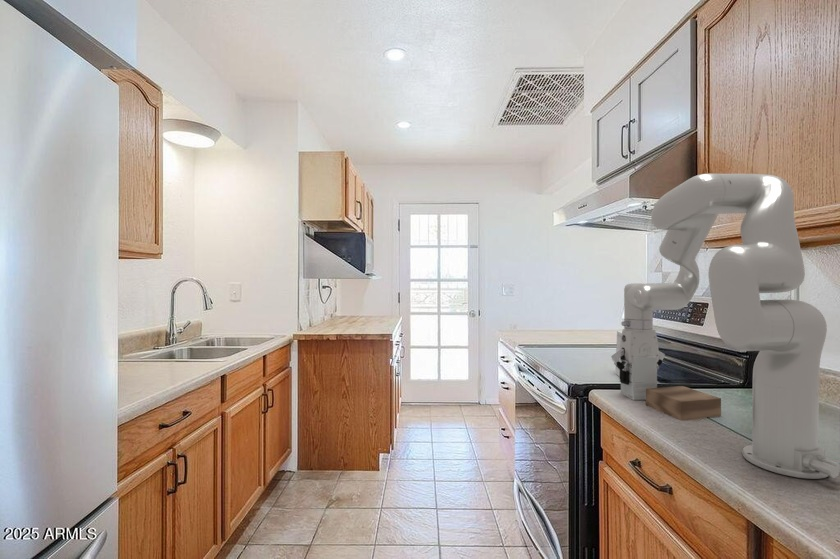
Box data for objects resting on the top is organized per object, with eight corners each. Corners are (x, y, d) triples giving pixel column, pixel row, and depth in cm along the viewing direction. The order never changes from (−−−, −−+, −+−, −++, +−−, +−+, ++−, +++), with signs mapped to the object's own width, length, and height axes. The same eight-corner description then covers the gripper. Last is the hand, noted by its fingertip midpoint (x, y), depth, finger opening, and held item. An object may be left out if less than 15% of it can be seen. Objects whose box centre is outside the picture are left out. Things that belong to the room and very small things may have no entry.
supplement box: (643, 392, 127) (643, 351, 127) (657, 400, 120) (657, 356, 119) (619, 393, 127) (619, 352, 127) (632, 400, 120) (632, 357, 119)
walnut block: (721, 417, 106) (721, 398, 106) (681, 421, 103) (681, 401, 103) (682, 403, 118) (682, 385, 117) (645, 406, 115) (645, 388, 115)
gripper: (620, 327, 118) (620, 387, 118) (673, 325, 121) (673, 384, 121) (604, 324, 125) (604, 381, 125) (654, 322, 128) (654, 377, 128)
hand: (638, 382), depth 123 cm, fingers open, 8 cm apart
